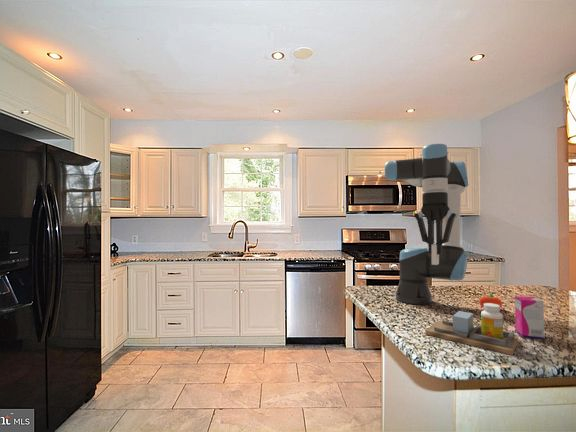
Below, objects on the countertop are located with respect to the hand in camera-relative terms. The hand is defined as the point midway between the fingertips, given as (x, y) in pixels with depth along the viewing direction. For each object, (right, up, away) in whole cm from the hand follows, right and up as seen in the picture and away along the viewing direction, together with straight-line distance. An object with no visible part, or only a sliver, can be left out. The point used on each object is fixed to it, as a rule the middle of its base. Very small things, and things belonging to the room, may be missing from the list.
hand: (435, 264), depth 100 cm
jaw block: (+6, -20, -6) cm, 21 cm away
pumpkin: (+33, -22, +23) cm, 46 cm away
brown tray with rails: (+7, -21, -7) cm, 24 cm away
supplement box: (+27, -22, -5) cm, 35 cm away
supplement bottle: (+11, -20, -11) cm, 26 cm away
